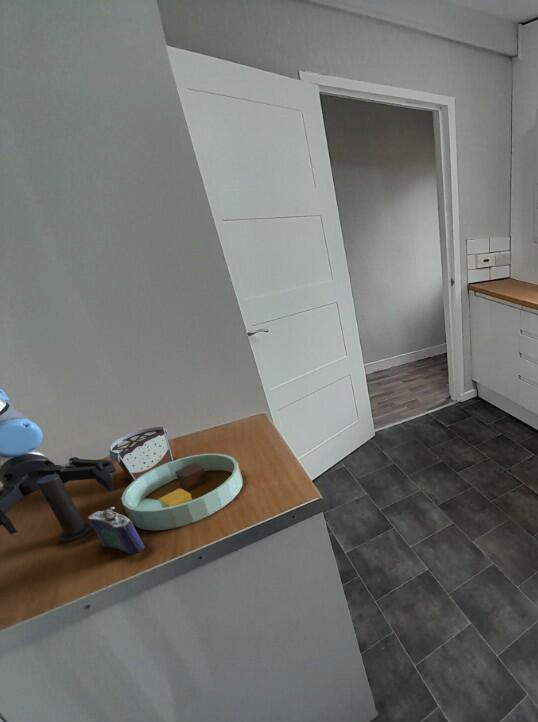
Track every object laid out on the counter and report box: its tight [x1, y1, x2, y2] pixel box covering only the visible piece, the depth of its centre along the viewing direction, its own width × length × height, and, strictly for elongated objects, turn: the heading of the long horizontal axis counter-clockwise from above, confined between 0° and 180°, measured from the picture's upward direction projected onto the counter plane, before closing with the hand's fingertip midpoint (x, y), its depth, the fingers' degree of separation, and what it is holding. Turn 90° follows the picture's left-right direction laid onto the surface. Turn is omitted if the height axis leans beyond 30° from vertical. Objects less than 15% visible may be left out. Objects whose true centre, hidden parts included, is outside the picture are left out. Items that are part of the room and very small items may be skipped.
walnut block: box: [175, 463, 209, 491], centre depth 95 cm, size 4×4×4 cm
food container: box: [109, 426, 174, 483], centre depth 98 cm, size 12×6×10 cm, turn 172°
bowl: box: [120, 453, 244, 531], centre depth 91 cm, size 20×20×6 cm
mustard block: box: [158, 487, 193, 508], centre depth 87 cm, size 4×4×4 cm
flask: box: [87, 506, 145, 555], centre depth 75 cm, size 9×3×11 cm, turn 73°
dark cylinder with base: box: [37, 474, 94, 544], centre depth 77 cm, size 4×4×15 cm
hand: (63, 504), depth 77 cm, fingers open, 13 cm apart
